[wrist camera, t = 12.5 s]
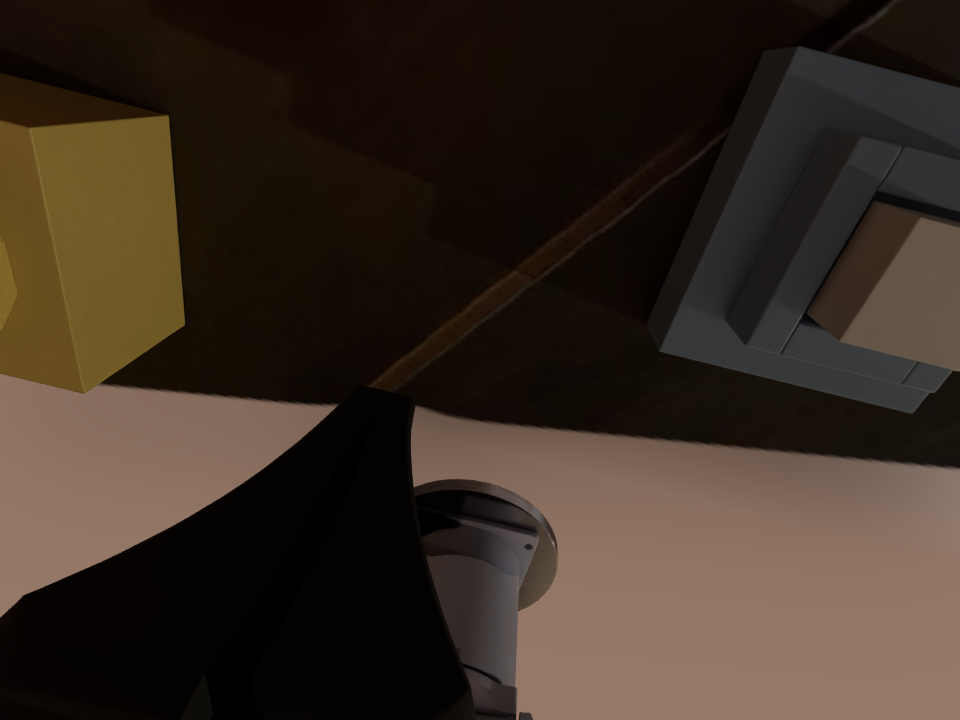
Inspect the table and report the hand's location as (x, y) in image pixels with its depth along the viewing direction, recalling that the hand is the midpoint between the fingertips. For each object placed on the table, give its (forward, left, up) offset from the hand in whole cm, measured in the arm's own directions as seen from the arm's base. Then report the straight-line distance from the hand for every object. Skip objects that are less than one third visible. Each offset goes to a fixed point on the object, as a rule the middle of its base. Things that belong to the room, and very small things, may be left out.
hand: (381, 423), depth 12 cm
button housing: (-1, +17, -11) cm, 20 cm away
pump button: (+5, -13, -6) cm, 16 cm away
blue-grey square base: (+5, -13, -11) cm, 18 cm away
